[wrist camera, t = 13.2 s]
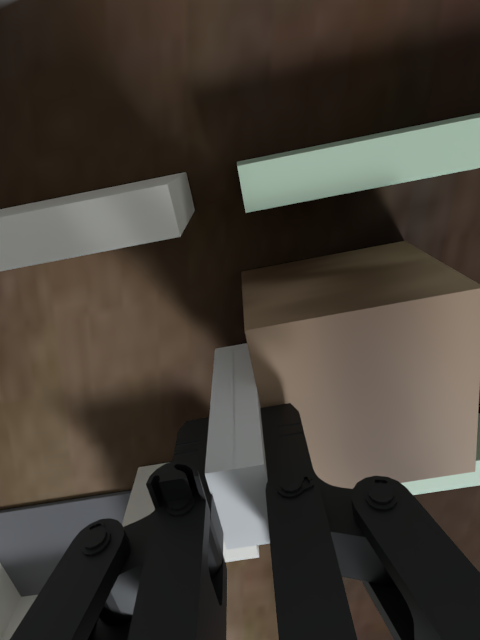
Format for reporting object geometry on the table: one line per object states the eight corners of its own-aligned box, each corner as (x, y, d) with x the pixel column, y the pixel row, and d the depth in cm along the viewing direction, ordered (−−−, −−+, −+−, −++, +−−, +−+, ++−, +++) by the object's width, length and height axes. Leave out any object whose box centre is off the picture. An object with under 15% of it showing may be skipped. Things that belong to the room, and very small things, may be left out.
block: (267, 404, 20) (279, 501, 15) (240, 271, 18) (244, 330, 12) (408, 380, 20) (475, 471, 15) (404, 240, 17) (484, 287, 12)
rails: (290, 465, 22) (298, 511, 19) (236, 161, 16) (237, 165, 13) (499, 433, 21) (539, 476, 19) (527, 103, 15) (591, 95, 12)
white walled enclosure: (-56, 620, 27) (-115, 719, 22) (-322, 273, 17) (-520, 321, 13) (277, 574, 26) (286, 669, 21) (186, 172, 16) (167, 184, 11)
